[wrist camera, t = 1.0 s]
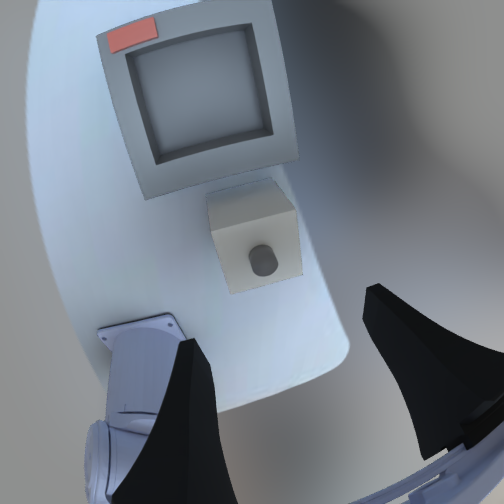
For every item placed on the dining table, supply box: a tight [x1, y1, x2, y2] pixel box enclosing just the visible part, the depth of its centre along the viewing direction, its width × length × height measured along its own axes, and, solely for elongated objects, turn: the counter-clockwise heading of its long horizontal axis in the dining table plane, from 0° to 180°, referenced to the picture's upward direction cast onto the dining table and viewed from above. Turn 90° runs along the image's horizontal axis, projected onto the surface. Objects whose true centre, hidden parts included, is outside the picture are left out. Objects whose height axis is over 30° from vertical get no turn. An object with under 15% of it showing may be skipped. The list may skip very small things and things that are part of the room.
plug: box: [206, 178, 303, 295], centre depth 17 cm, size 4×4×6 cm
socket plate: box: [96, 0, 299, 200], centre depth 13 cm, size 10×9×3 cm
